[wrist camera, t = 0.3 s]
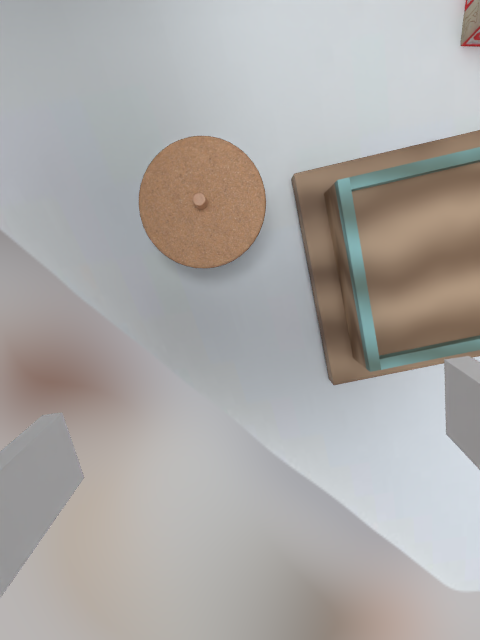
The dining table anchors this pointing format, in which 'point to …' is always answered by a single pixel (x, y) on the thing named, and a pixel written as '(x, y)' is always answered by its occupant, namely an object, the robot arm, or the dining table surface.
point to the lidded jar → (202, 202)
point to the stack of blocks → (471, 24)
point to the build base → (395, 256)
